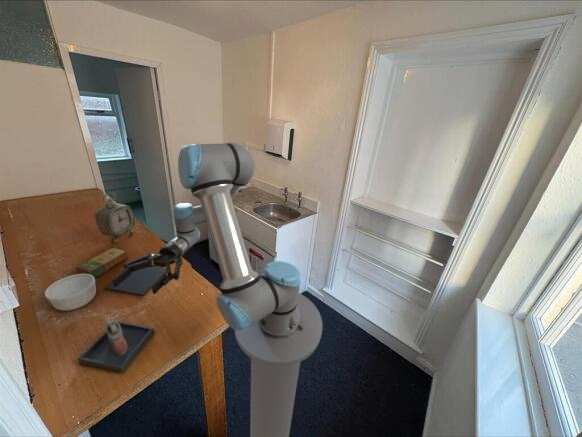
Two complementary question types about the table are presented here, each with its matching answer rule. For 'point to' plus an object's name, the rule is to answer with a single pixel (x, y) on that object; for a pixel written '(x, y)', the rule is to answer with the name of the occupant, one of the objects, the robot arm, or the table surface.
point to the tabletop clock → (114, 218)
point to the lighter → (116, 336)
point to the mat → (139, 281)
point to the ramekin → (71, 292)
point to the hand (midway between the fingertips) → (133, 287)
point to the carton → (101, 262)
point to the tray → (105, 355)
